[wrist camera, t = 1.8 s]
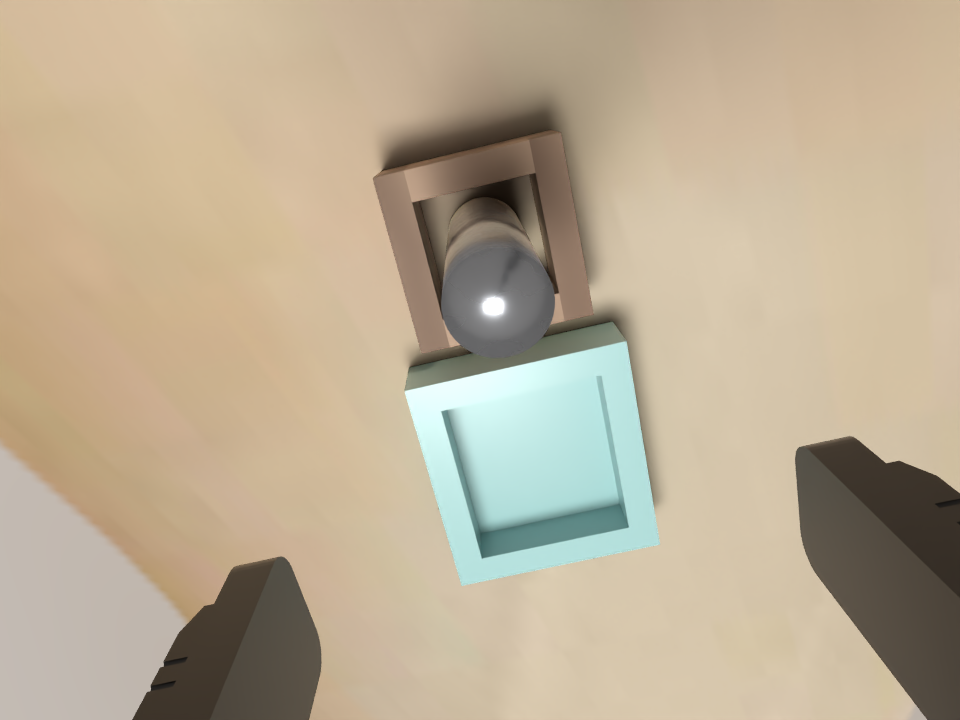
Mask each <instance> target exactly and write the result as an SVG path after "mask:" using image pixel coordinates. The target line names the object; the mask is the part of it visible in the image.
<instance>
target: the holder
mask: <svg viewBox="0 0 960 720" xmlns="http://www.w3.org/2000/svg"><path fill="white" fill-rule="evenodd" d="M528 174H529V175H530V180H531V185H532V190H533V195H534V200H535V205H536V210H537V215H538V220H539V225H540V230H541V235H542V240H543V245H544V250H545V255H546V260H547V265H548V270H549V275H548V276H549V278H550V281H551V283H552V286H553V289H554V295H555V309H554V315H553V318H552V321H551V324H555V323H559V322H563V321H568V320H572V319H576V318H581V317H585V316H590V315H594V314H593V308H592V303H591V297H590V291H589V286H588V280H587V275H586V269H585V264H584V258H583V252H582V247H581V241H580V236H579V230H578V225H577V219H576V214H575V208H574V202H573V197H572V191H571V186H570V180H569V175H568V169H567V164H566V158H565V152H564V147H563V141H562V136H561V132H557V131H553V130H547V131H543V132H539V133H535V134H531V135H527V136H523V137H519V138H515V139H510V140H506V141H502V142H498V143H494V144H490V145H486V146H482V147H478V148H474V149H469V150H465V151H461V152H457V153H453V154H449V155H445V156H441V157H437V158H433V159H428V160H424V161H420V162H416V163H412V164H408V165H404V166H400V167H396V168H392V169H387V170H383V171H381V172H380V173H379V174H377V175H376V176H375V177H374V178H373V181H374V185H375V188H376V192H377V195H378V199H379V203H380V206H381V210H382V213H383V217H384V220H385V224H386V228H387V231H388V235H389V238H390V242H391V246H392V249H393V253H394V256H395V260H396V263H397V267H398V271H399V274H400V278H401V281H402V285H403V289H404V292H405V296H406V299H407V303H408V306H409V310H410V314H411V317H412V321H413V324H414V328H415V332H416V335H417V339H418V342H419V346H420V350H421V353H422V354H423V353H427V352H432V351H436V350H441V349H445V348H449V347H454V346H458V345H460V344H459V343H458V342H457V341H456V340H455V339H454V338H453V337H452V335H451V334H450V332H449V331H448V329H447V327H446V325H445V322H444V319H443V316H442V310H441V298H442V287H441V283H440V279H439V276H438V272H437V268H436V264H435V260H434V256H433V252H432V248H431V245H430V241H429V237H428V233H427V229H426V225H425V221H424V218H423V214H422V210H421V206H420V202H419V201H420V200H425V199H429V198H433V197H437V196H441V195H445V194H449V193H454V192H458V191H462V190H466V189H470V188H474V187H479V186H483V185H487V184H491V183H495V182H499V181H503V180H508V179H512V178H516V177H520V176H524V175H528Z"/></svg>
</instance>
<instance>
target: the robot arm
mask: <svg viewBox="0 0 960 720" xmlns="http://www.w3.org/2000/svg"><path fill="white" fill-rule="evenodd" d="M795 464H796V477H797V490H798V504H799V517H800V530H801V537H802V542H803V546H804V549H805V552H806V555H807V557H808V559H809V562H810V564H811V566H812V568H813V570H814V571H815V573H816V574H817V576H818V577H819V578H820V580H821V581H822V582H823V584H824V585H825V586H826V588H827V589H828V590H829V592H830V593H831V594H832V595H833V597H834V598H835V599H836V601H837V602H838V603H839V605H840V606H841V607H842V609H843V610H844V611H845V612H846V614H847V615H848V616H849V618H850V619H851V620H852V622H853V623H854V624H855V626H856V627H857V628H858V630H859V631H860V632H861V633H862V635H863V636H864V637H865V639H866V640H867V641H868V643H869V644H870V645H871V647H872V648H873V649H874V650H875V652H876V653H877V654H878V656H879V657H880V658H881V660H882V661H883V662H884V664H885V665H886V666H887V667H888V669H889V670H890V671H891V673H892V674H893V675H894V677H895V678H896V679H897V681H898V682H899V683H900V685H901V686H902V687H903V688H904V690H905V691H906V692H907V694H908V695H909V696H910V698H911V699H912V700H913V702H914V703H915V704H916V705H917V707H918V708H919V709H920V711H921V712H922V713H923V715H924V716H925V717H926V718H927V720H960V493H958V492H957V491H956V490H955V489H953V488H952V487H951V486H949V485H948V484H947V483H946V482H944V481H943V480H942V479H940V478H939V477H938V476H936V475H933V474H931V473H928V472H926V471H923V470H921V469H918V468H916V467H913V466H911V465H908V464H906V463H903V462H901V461H896V462H891V463H885V462H884V461H883V460H881V459H880V458H879V457H878V456H877V455H875V454H874V453H873V452H872V451H871V450H869V449H868V448H867V447H866V446H865V445H863V444H862V443H861V442H860V441H859V440H857V439H856V438H854V437H850V436H848V437H844V438H839V439H834V440H830V441H825V442H820V443H816V444H811V445H806V446H802V447H799V448H798V449H797V451H796V457H795ZM320 672H321V647H320V641H319V637H318V633H317V630H316V627H315V625H314V622H313V620H312V617H311V615H310V612H309V610H308V607H307V605H306V602H305V600H304V597H303V595H302V592H301V590H300V587H299V585H298V582H297V580H296V577H295V575H294V572H293V570H292V567H291V565H290V563H289V562H288V561H287V559H285V558H284V557H276V558H272V559H267V560H262V561H258V562H253V563H248V564H244V565H239V566H236V567H234V568H233V569H232V570H231V571H230V573H229V575H228V577H227V579H226V581H225V583H224V585H223V587H222V589H221V591H220V593H219V595H218V597H217V599H216V601H215V603H214V604H212V605H207V606H204V607H203V608H202V609H201V610H200V611H199V612H198V613H197V615H196V616H195V617H194V618H193V619H192V620H191V621H190V622H189V623H188V624H187V625H186V626H185V627H184V628H183V629H182V630H181V631H180V632H179V634H178V636H177V637H176V639H175V641H174V643H173V645H172V647H171V649H170V651H169V652H168V654H167V656H166V658H165V660H164V667H161V668H160V669H159V671H158V673H157V675H156V676H155V678H154V680H153V682H152V684H151V691H150V692H147V693H146V695H145V697H144V699H143V701H142V703H141V704H140V706H139V708H138V710H137V712H136V714H135V716H134V718H133V719H132V720H309V717H310V713H311V709H312V705H313V701H314V697H315V693H316V689H317V685H318V681H319V677H320Z"/></svg>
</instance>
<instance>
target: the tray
mask: <svg viewBox="0 0 960 720" xmlns="http://www.w3.org/2000/svg"><path fill="white" fill-rule="evenodd" d="M405 395H406V398H407V401H408V405H409V408H410V412H411V415H412V418H413V422H414V425H415V429H416V432H417V435H418V439H419V442H420V446H421V449H422V452H423V456H424V459H425V463H426V466H427V469H428V473H429V476H430V480H431V483H432V486H433V490H434V493H435V496H436V500H437V503H438V507H439V510H440V513H441V517H442V520H443V524H444V527H445V530H446V534H447V537H448V541H449V544H450V547H451V551H452V554H453V558H454V561H455V564H456V568H457V571H458V575H459V578H460V581H461V585H462V586H463V585H468V584H473V583H477V582H482V581H487V580H492V579H497V578H501V577H506V576H511V575H516V574H521V573H525V572H530V571H535V570H540V569H545V568H549V567H554V566H559V565H564V564H568V563H573V562H578V561H583V560H588V559H592V558H597V557H602V556H607V555H612V554H616V553H621V552H626V551H631V550H636V549H640V548H645V547H650V546H655V545H660V542H659V536H658V529H657V523H656V517H655V511H654V505H653V499H652V493H651V487H650V481H649V475H648V469H647V463H646V457H645V450H644V444H643V438H642V432H641V426H640V420H639V414H638V408H637V402H636V396H635V390H634V384H633V377H632V371H631V365H630V359H629V353H628V347H627V341H626V340H625V338H624V337H623V335H622V334H621V333H620V331H619V330H618V328H617V327H616V326H615V324H614V323H613V321H612V322H608V323H603V324H599V325H595V326H590V327H586V328H581V329H577V330H573V331H568V332H564V333H559V334H555V335H551V336H546V337H542V338H541V339H540V340H539V341H538V342H537V343H536V344H535V345H534V346H532V347H531V348H529V349H528V350H526V351H524V352H522V353H520V354H518V355H514V356H511V357H505V358H489V357H484V356H480V355H477V354H474V353H471V354H467V355H463V356H458V357H454V358H449V359H445V360H441V361H436V362H432V363H427V364H423V365H419V366H414V367H410V368H409V371H408V376H407V381H406V386H405Z"/></svg>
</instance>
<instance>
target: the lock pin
mask: <svg viewBox="0 0 960 720" xmlns="http://www.w3.org/2000/svg"><path fill="white" fill-rule="evenodd" d="M554 309H555V295H554V289H553V286H552V283H551V281H550V278H549V276H548V274H547V272H546V271H545V269H544V267H543V265H542V263H541V261H540V259H539V257H538V255H537V253H536V251H535V250H534V248H533V246H532V244H531V242H530V240H529V238H528V236H527V234H526V232H525V230H524V228H523V227H522V225H521V223H520V221H519V219H518V217H517V215H516V214H515V212H514V211H513V210H512V209H511V208H510V207H509V206H508V205H507V204H506V203H504V202H502V201H500V200H498V199H495V198H490V197H480V198H475V199H472V200H470V201H468V202H466V203H464V204H463V205H462V206H461V207H459V208H458V210H457V211H456V212H455V213H454V215H453V217H452V219H451V221H450V224H449V228H448V237H447V248H446V258H445V268H444V278H443V288H442V298H441V310H442V316H443V319H444V322H445V325H446V327H447V329H448V331H449V332H450V334H451V335H452V337H453V338H454V339H455V340H456V341H457V342H458V343H459V344H460V345H461V346H462V347H464V348H465V349H467V350H468V351H470V352H472V353H474V354H477V355H480V356H484V357H489V358H505V357H511V356H514V355H518V354H520V353H522V352H524V351H526V350H528V349H529V348H531V347H532V346H534V345H535V344H536V343H537V342H538V341H539V340H540V339H541V338H542V337H543V335H544V334H545V333H546V331H547V330H548V328H549V326H550V324H551V321H552V318H553V315H554Z"/></svg>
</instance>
